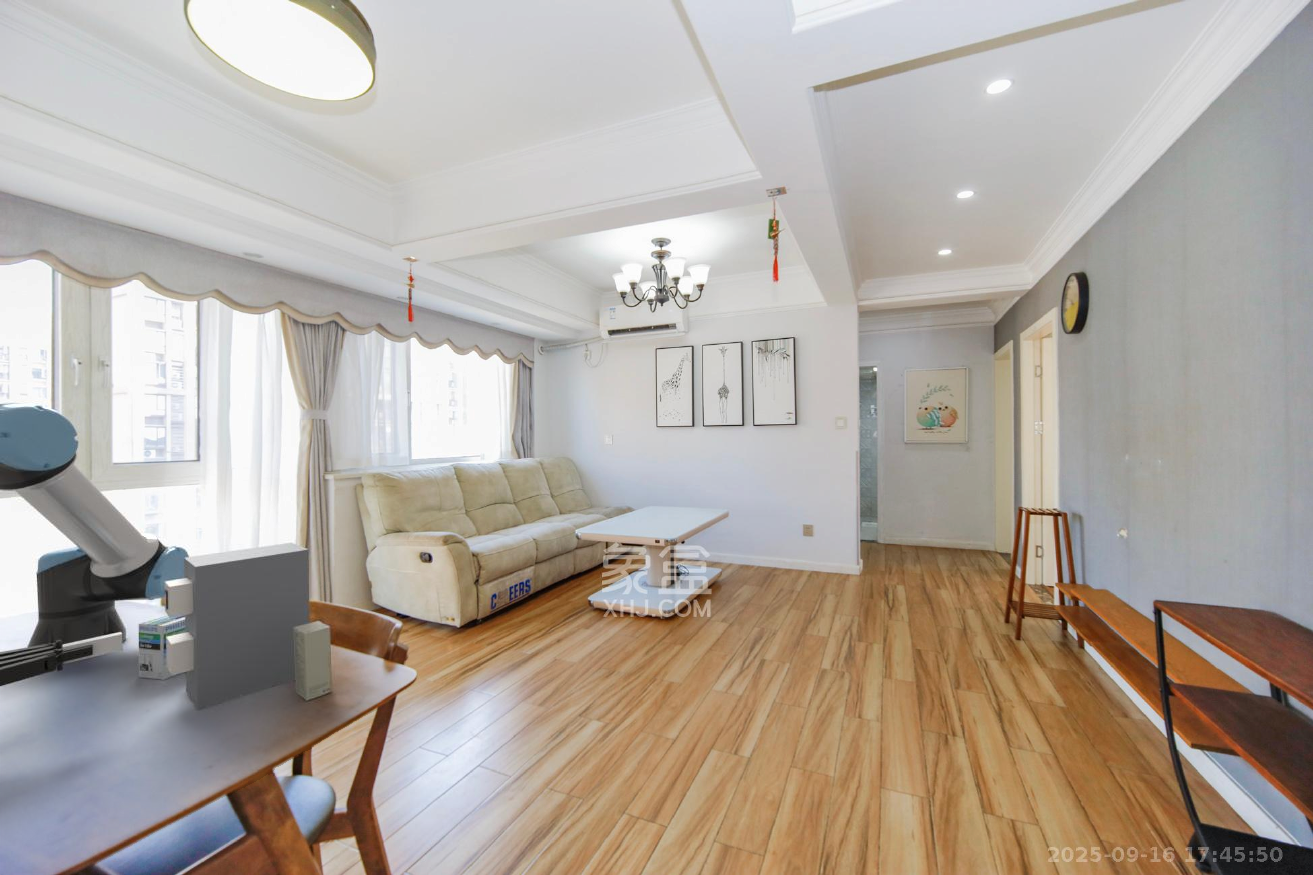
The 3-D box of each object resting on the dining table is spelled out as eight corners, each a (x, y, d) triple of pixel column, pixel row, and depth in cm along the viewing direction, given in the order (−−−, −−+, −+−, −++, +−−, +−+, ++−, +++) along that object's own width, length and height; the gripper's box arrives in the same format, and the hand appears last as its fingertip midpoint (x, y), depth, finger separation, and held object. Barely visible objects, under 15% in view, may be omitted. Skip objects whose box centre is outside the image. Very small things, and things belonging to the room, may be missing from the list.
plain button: (166, 666, 93) (166, 636, 93) (210, 655, 98) (209, 627, 98) (171, 675, 89) (171, 644, 89) (216, 663, 94) (215, 633, 94)
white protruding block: (163, 611, 93) (163, 581, 93) (208, 602, 97) (208, 574, 97) (168, 618, 89) (167, 587, 89) (215, 608, 94) (214, 579, 94)
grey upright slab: (186, 690, 97) (184, 557, 97) (293, 659, 110) (291, 542, 110) (197, 709, 90) (195, 566, 90) (310, 674, 103) (308, 549, 103)
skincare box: (333, 692, 96) (332, 626, 96) (305, 702, 92) (304, 634, 92) (320, 682, 100) (319, 619, 100) (293, 691, 96) (292, 626, 96)
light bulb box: (163, 680, 101) (162, 626, 101) (136, 678, 103) (135, 623, 102) (219, 657, 112) (218, 608, 112) (194, 655, 113) (193, 606, 113)
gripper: (-122, 709, 73) (118, 652, 91) (-142, 745, 65) (126, 674, 83) (-124, 657, 73) (117, 610, 91) (-145, 686, 65) (125, 628, 83)
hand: (121, 640), depth 87 cm, fingers closed
